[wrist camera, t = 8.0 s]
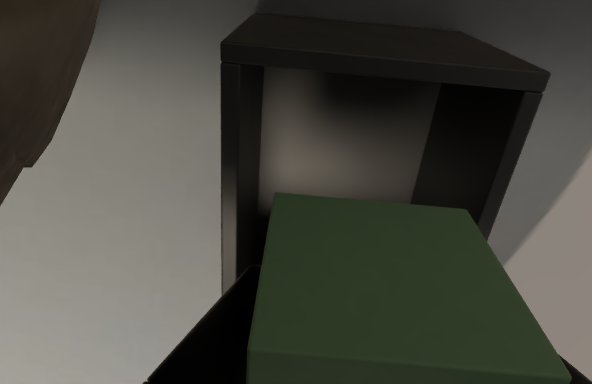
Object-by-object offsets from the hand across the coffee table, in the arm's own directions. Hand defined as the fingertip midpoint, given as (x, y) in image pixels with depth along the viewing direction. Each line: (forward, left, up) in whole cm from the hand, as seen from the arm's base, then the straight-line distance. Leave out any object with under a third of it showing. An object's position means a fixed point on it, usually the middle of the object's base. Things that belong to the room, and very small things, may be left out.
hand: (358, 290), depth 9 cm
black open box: (0, 0, -7) cm, 7 cm away
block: (0, 0, 0) cm, 0 cm away
